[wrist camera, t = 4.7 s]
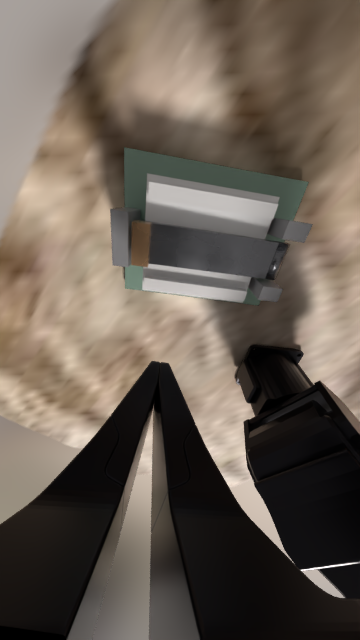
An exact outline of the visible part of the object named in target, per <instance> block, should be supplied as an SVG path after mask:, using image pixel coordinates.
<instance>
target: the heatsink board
mask: <svg viewBox="0 0 360 640" xmlns="http://www.w3.org/2000/svg"><path fill="white" fill-rule="evenodd" d="M308 183H309V182H305V181H300V180H295V179H289V178H284V177H279V176H274V175H268V174H263V173H258V172H252V171H247V170H242V169H236V168H231V167H226V166H221V165H215V164H210V163H205V162H199V161H194V160H189V159H184V158H178V157H173V156H168V155H162V154H157V153H152V152H146V151H141V150H136V149H131V148H125V147H124V195H125V207H124V208H115V209H110V212H111V236H112V260H113V265H115V266H122V267H125V288H126V289H134V290H142V291H150V292H157V293H165V294H173V295H181V296H188V297H196V298H204V299H212V300H219V301H227V302H235V303H242V304H250V305H258V306H259V303H260V301H261V300H264V301H271V302H277V301H278V299H279V297H280V295H281V292H282V290H283V289H282V288H281V287H280V286H279V285H277V284H276V283H275V282H274V281H273V280H268V279H262V278H255V277H247V276H240V275H232V274H224V273H217V272H209V271H201V270H194V269H186V268H178V267H171V266H163V265H155V264H149V265H148V267H142V266H134V265H131V246H132V221H134V220H144V221H150V222H157V223H163V224H169V225H176V226H182V227H189V228H195V229H202V230H208V231H214V232H221V233H227V234H234V235H240V236H247V237H253V238H259V239H266V240H272V241H280V242H285V240H290V241H297V242H303V243H304V242H305V240H306V238H307V236H308V234H309V231H310V229H311V227H312V225H313V224H308V223H302V222H296V221H293V220H294V217H295V215H296V212H297V210H298V207H299V205H300V202H301V200H302V197H303V195H304V193H305V190H306V188H307V185H308Z"/></svg>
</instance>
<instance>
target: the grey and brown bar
mask: <svg viewBox="0 0 360 640" xmlns="http://www.w3.org/2000/svg"><path fill="white" fill-rule="evenodd" d="M289 245H290V244H288V243H285V242H280V241H272V240H266V239H259V238H253V237H247V236H240V235H234V234H227V233H221V232H214V231H208V230H202V229H195V228H189V227H182V226H176V225H169V224H163V223H157V222H150V221H144V220H134V221H132V246H131V265H134V266H142V267H148V265H149V264H155V265H163V266H171V267H178V268H186V269H194V270H201V271H209V272H217V273H224V274H232V275H240V276H247V277H255V278H262V279H268V280H275V278H276V276H277V274H278V271H279V269H280V267H281V264H282V262H283V260H284V257H285V255H286V252H287V250H288V248H289Z"/></svg>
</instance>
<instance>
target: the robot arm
mask: <svg viewBox="0 0 360 640" xmlns="http://www.w3.org/2000/svg"><path fill="white" fill-rule="evenodd" d="M253 349H254V350H253ZM303 355H304V354H303V352H302V351H301V350H297V349H288V348H279V347H270V346H261V345H252V346H250V348H249V350H248V352H247V354H246V357H245V359H244V360H243V362H242V364H241V366H240V368H239V371H238V373H237V378H236V383H237V384H238V385H241V388H242V391H243V394H244V397H245V400H246V402H247V403H251V406H252V409H253V412H254V414H255V417H253V418H251V419H250V420H249V419H248V420H246V421H244V434H245V448H246V460H247V467H248V470H249V471H250V474H251V476H252V479H253V480H254V485H255V487H256V489H257V491H258V492H259V494H260V495H261V497H262V498H263V500H264V502H265V504H266V506H267V508H268V510H269V512H270V514H271V517H272V519H273V522H274V524H275V527H276V529H277V532H278V534H279V537H280V540H281V542H282V545H283V547H284V549H285V551H286V553H287V554H288V555H289V557H290V558H291V559H292V561H293V562H294V563H292V561H291V560H290V559H289V558H288V557H287V556H286V555H285V554H284V553H283V552H282V551H281V550H280V549H279V548H278V547H277V546H276V545H275V544H274V543H273V542H272V541H271V540H270V539H269V538H268V537H267V536H266V535H265V534H264V533H263V531H262V530H261V529H260V528H258V526H257V525H256V524H255V523H254V522H253V521H252V520H251V519H250V518H249V517H248V516H247V514H246V513H245V512H244V511H243V509H242V508H241V507H240V505H239V504H238V502H237V500H236V499H235V497H234V495H233V494H232V492H231V490H230V488H229V487H228V485H227V483H226V481H225V480H224V478H223V476H222V474H221V473H220V471H219V469H218V468H217V466H216V464H215V462H214V461H213V459H212V457H211V455H210V453H209V451H208V449H207V448H206V446H205V444H204V441H203V439H202V437H201V435H200V433H199V431H198V428H197V426H196V425H195V422H194V419H193V417H192V415H191V413H190V410H189V408H188V406H187V404H186V401H185V399H184V397H183V394H182V392H181V390H180V388H179V385H178V383H177V381H176V378H175V376H174V374H173V372H172V369H171V367H170V365H169V363H164V362H161V363H160V362H156V361H152V362H151V363H150V364H149V365H148V367H147V368H146V369H145V371H144V372H143V373H142V375H141V376H140V377H139V379H138V380H137V381H136V383H135V384H134V385H133V387H132V388H131V389H130V391H129V392H128V393H127V394H126V396H125V397H124V398H123V400H122V401H121V402H120V404H119V405H118V406H117V408H116V409H115V410H114V412H113V413H112V414H111V416H110V417H109V418H108V420H107V421H106V422H105V424H104V425H103V426H102V427H101V429H100V430H99V431H98V432H97V434H96V435H95V436H94V437H93V438H92V439H91V441H90V442H89V443H88V444H87V445H86V446H85V447H84V448H83V449H82V451H81V452H80V453H79V454H78V455H77V456H76V457H75V458H74V459H73V460H72V461H71V462H70V464H68V466H67V467H66V468H65V469H64V470H63V471H62V472H61V473H60V474H59V475H58V476H57V477H56V478H55V479H54V481H53V482H52V483H51V484H50V485H49V486H48V487H47V488H46V489H45V490H44V491H43V492H42V493H41V494H40V495H38V496H37V497H36V498H35V499H34V500H33V501H32V502H30V503H29V504H28V505H27V506H25V507H24V508H23V509H21V510H20V511H18V512H17V513H16V514H14V515H13V516H12V517H10V518H9V519H7V520H6V521H4V522H3V523H1V524H0V640H92V639H93V635H94V631H95V628H96V624H97V620H98V616H99V612H100V609H101V605H102V601H103V597H104V594H105V590H106V586H107V582H108V578H109V575H110V571H111V567H112V563H113V559H114V556H115V551H116V548H117V544H118V540H119V537H120V531H121V529H122V525H123V521H124V517H125V514H126V510H127V506H128V502H129V499H130V495H131V491H132V487H133V483H134V480H135V476H136V472H137V468H138V464H139V461H140V457H141V453H142V449H143V445H144V442H145V438H146V434H147V430H148V426H149V423H150V419H151V415H152V411H153V454H152V508H151V510H152V511H151V533H152V534H151V559H150V560H151V561H150V564H151V565H150V613H149V614H150V615H149V640H360V422H359V420H358V419H357V418H356V417H355V416H354V414H353V413H352V412H351V411H350V410H349V409H348V408H347V406H346V405H345V404H344V403H343V402H342V401H341V400H340V399H339V398H338V397H337V396H336V395H335V394H334V393H333V392H332V391H331V390H330V389H328V388H327V387H326V386H325V385H324V384H323V383H322V382H321V381H318V382H316V383H314V384H315V385H313V383H312V382H311V381H310V379H309V378H308V377H307V375H306V374H305V373H304V371H303V370H302V369H301V367H300V366H299V364H298V363H299V361H300V360H301V358H302V357H303ZM153 406H154V409H153ZM314 569H318V571H319V572H320V573H321V574H323V576H325V578H326V579H327V580H328V581H329V582H330V583H331V584H332V585H333V586H334V587H335V588H336V589H337V590H338V591H339V592H340V593H341V594H342V595H343V596H344V597H345V598H338V597H334V596H332V595H330V594H328V593H326V592H325V591H323V590H322V589H321V588H319V587H318V586H317V585H315V584H314V583H313V582H312V581H311V580H310V579H309V578H308V577H307V576H306V575H305V574H304V573H303V572H302V571H307V570H314Z"/></svg>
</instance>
